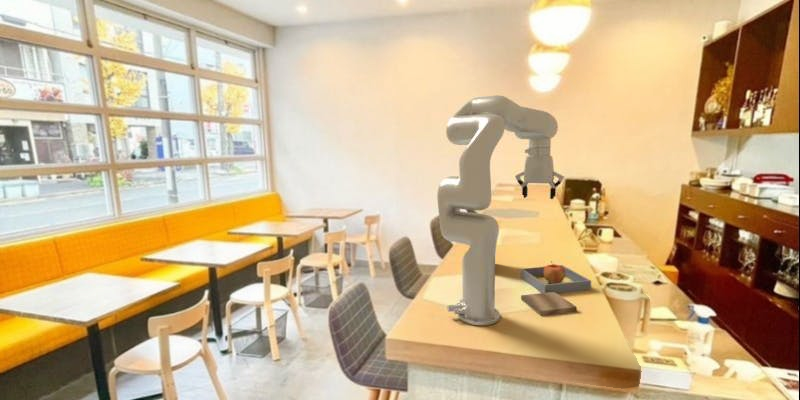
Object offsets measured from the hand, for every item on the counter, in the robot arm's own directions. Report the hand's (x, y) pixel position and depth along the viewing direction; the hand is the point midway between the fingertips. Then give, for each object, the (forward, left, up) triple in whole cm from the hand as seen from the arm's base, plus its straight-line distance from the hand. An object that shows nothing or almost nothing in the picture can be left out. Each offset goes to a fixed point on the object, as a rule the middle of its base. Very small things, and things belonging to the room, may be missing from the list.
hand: (538, 197), depth 144 cm
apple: (+1, -10, -31) cm, 32 cm away
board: (-11, -26, -30) cm, 41 cm away
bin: (+1, -10, -30) cm, 32 cm away
